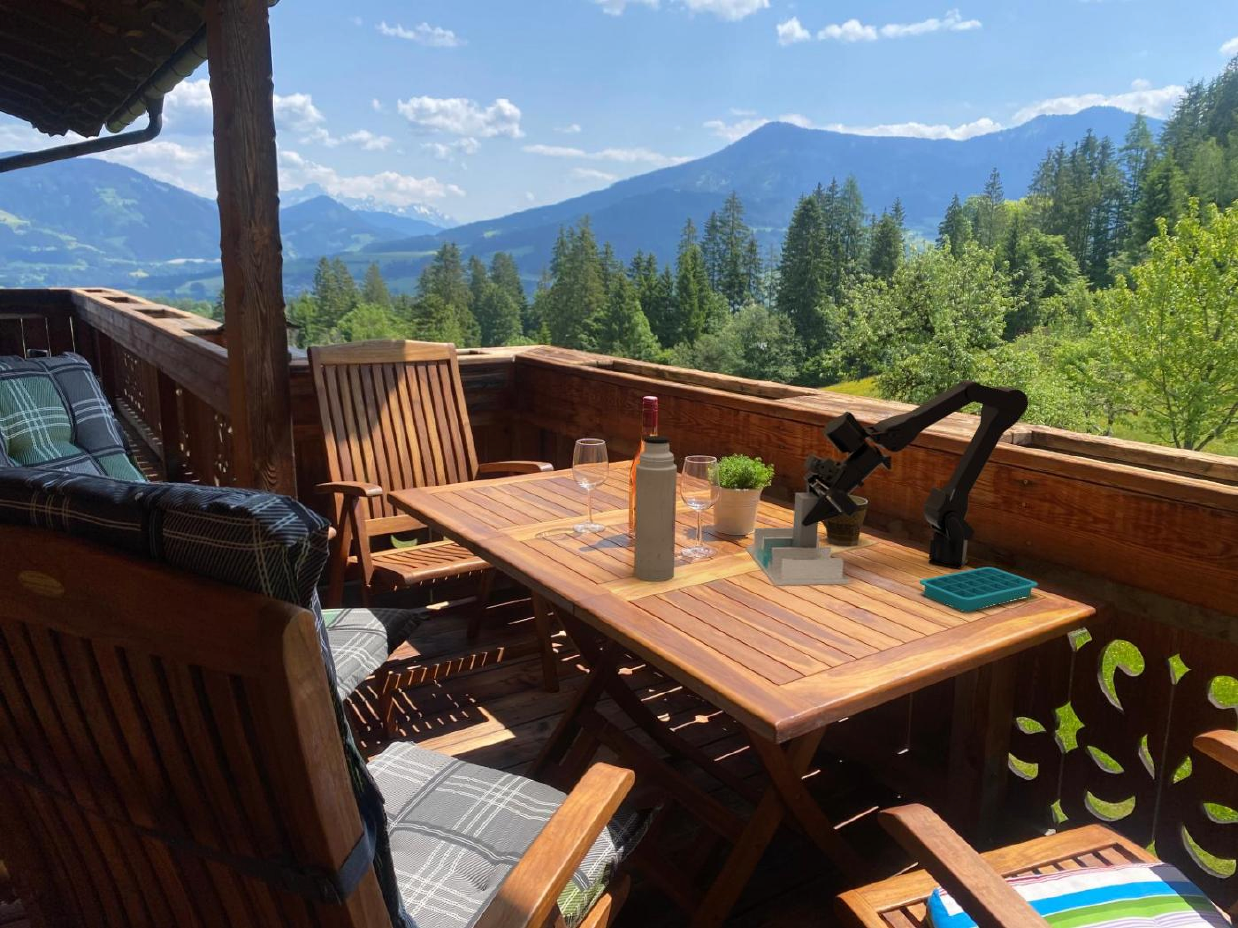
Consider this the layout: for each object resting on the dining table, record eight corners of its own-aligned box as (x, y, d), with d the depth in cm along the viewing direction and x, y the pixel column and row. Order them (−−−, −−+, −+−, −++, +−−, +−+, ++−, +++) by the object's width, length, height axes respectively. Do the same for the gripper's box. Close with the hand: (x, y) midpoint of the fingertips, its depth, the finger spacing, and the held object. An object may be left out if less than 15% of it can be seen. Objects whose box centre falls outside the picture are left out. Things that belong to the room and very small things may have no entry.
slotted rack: (812, 548, 190) (814, 526, 189) (849, 583, 167) (851, 559, 166) (746, 549, 189) (747, 527, 188) (774, 585, 166) (776, 560, 165)
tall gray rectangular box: (808, 548, 180) (811, 492, 178) (815, 555, 175) (819, 498, 173) (792, 548, 180) (795, 492, 177) (799, 555, 175) (802, 498, 173)
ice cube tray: (915, 595, 163) (916, 580, 162) (987, 580, 172) (989, 566, 171) (964, 616, 152) (966, 600, 152) (1039, 599, 162) (1041, 583, 161)
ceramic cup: (860, 536, 200) (863, 495, 198) (868, 549, 190) (871, 505, 188) (804, 534, 201) (806, 493, 199) (809, 547, 191) (811, 503, 189)
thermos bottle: (676, 570, 174) (680, 434, 169) (670, 582, 167) (674, 441, 161) (637, 566, 176) (640, 432, 170) (630, 579, 168) (633, 439, 162)
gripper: (815, 433, 182) (762, 484, 184) (845, 449, 164) (786, 505, 165) (848, 469, 185) (795, 519, 186) (882, 489, 166) (823, 544, 168)
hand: (799, 521), depth 176 cm, fingers closed on tall gray rectangular box, 5 cm apart
